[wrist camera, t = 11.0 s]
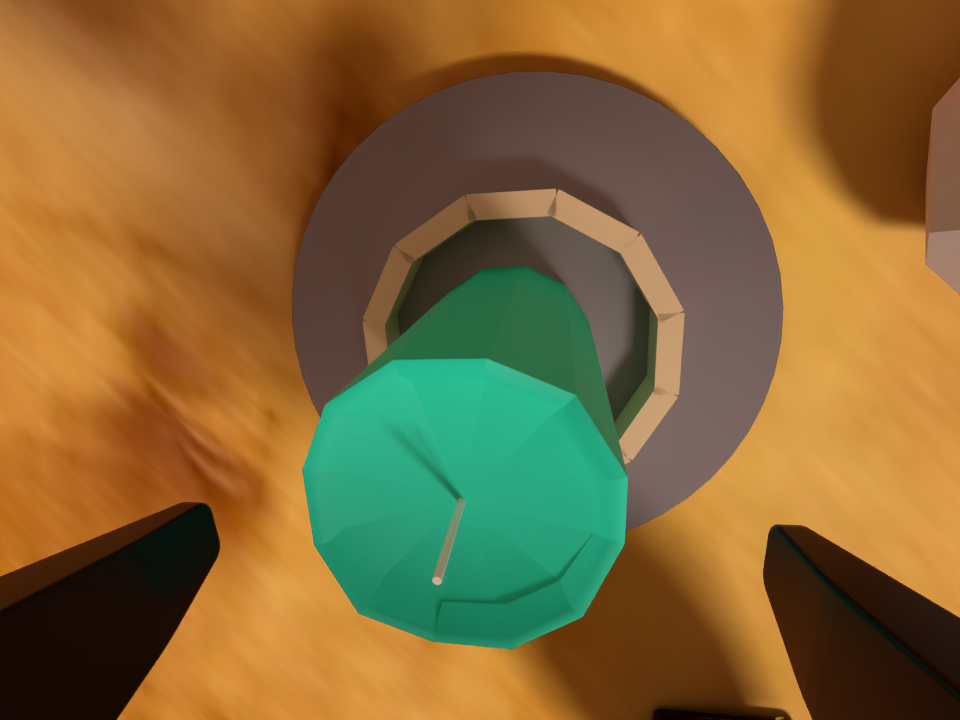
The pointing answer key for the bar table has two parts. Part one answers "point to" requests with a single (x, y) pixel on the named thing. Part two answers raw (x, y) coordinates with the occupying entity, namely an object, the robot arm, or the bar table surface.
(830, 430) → the bar table surface
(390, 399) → the candle
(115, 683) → the robot arm
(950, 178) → the chicken leg
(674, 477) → the candle holder
